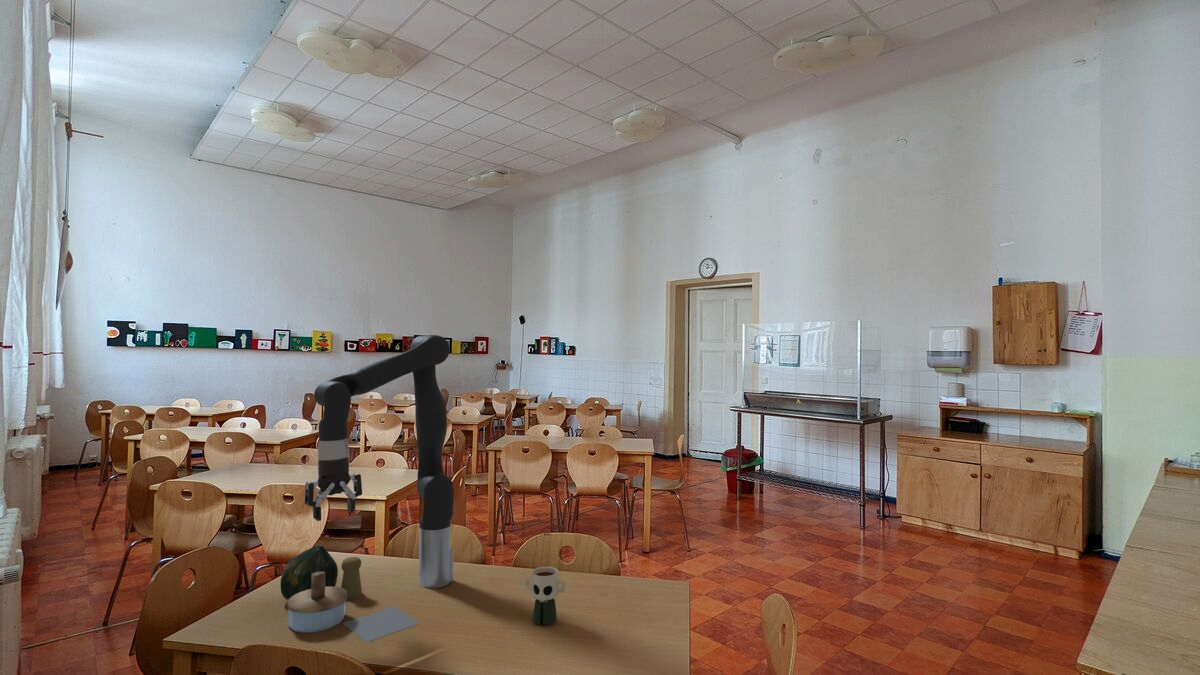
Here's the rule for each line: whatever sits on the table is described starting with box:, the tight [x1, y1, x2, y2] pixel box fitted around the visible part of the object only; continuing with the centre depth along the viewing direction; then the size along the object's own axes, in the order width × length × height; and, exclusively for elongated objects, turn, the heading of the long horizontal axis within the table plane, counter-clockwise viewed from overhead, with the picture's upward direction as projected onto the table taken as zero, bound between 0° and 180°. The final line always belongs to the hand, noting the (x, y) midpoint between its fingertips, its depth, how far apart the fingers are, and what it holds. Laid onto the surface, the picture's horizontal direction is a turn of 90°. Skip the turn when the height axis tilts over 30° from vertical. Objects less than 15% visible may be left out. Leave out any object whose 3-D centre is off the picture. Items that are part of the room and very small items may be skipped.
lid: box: [286, 572, 348, 613], centre depth 153 cm, size 14×14×7 cm
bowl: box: [287, 600, 347, 634], centre depth 153 cm, size 13×13×6 cm
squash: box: [280, 544, 339, 601], centre depth 170 cm, size 14×15×15 cm
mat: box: [342, 606, 421, 643], centre depth 152 cm, size 14×14×1 cm
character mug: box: [524, 566, 566, 626], centre depth 155 cm, size 11×7×13 cm, turn 79°
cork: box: [340, 556, 363, 600], centre depth 169 cm, size 6×6×11 cm
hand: (334, 516), depth 158 cm, fingers open, 8 cm apart
